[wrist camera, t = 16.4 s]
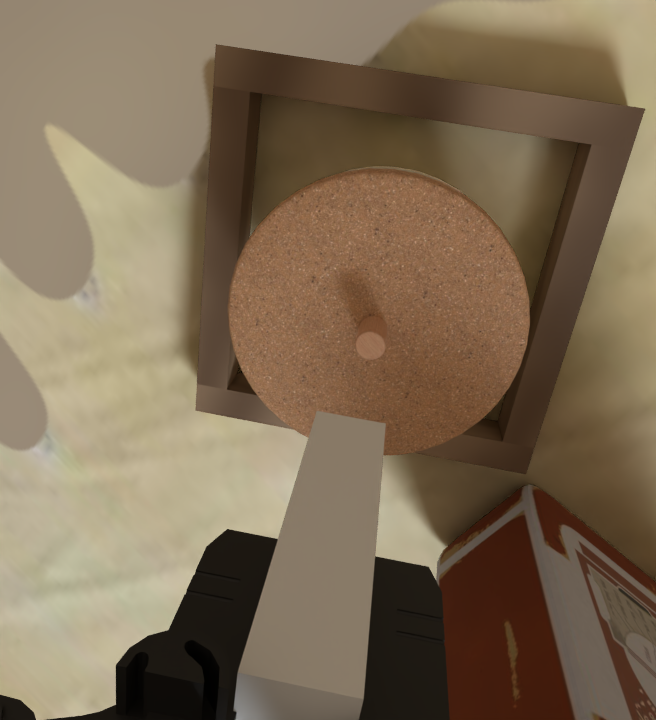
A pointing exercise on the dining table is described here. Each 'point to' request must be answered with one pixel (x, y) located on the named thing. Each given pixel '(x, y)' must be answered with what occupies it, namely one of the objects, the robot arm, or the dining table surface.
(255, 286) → the lidded jar
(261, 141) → the dining table surface
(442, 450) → the brown wooden tray
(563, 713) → the cine camera
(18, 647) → the dining table surface
